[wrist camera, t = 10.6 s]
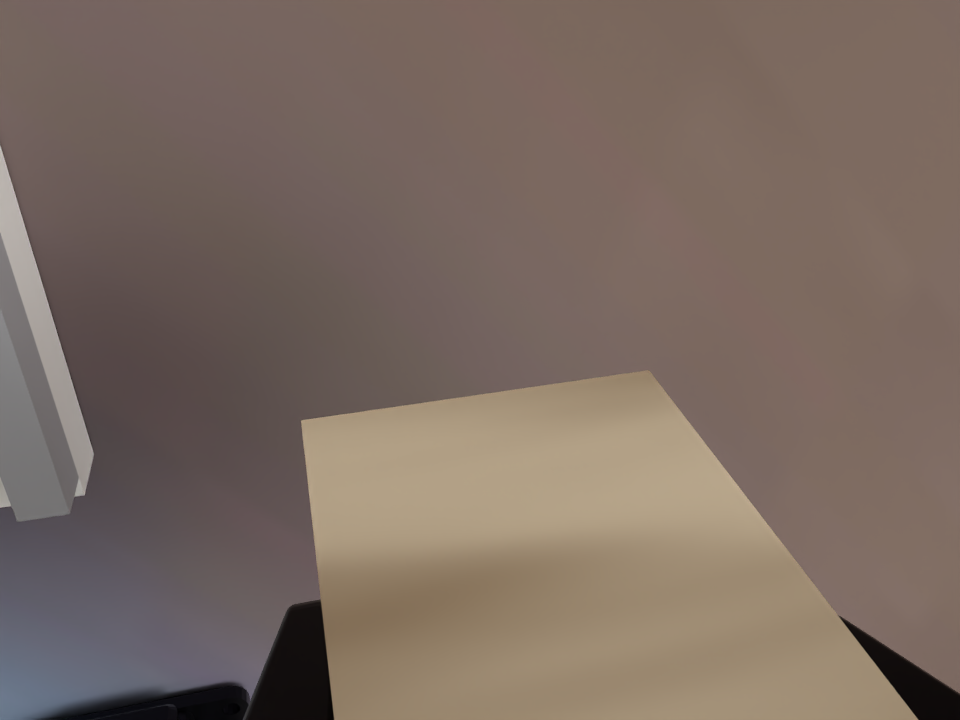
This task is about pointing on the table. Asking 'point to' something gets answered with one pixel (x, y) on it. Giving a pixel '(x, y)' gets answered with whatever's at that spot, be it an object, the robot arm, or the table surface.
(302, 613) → the robot arm
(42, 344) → the breaker panel
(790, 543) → the table surface
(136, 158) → the table surface
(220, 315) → the table surface
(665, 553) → the block
